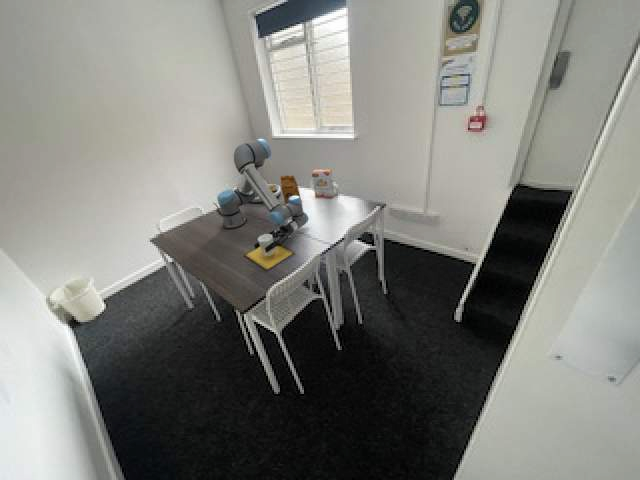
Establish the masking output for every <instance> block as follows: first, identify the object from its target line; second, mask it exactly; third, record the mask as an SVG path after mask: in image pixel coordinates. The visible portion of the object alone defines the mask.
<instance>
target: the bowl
mask: <svg viewBox="0 0 640 480" xmlns="http://www.w3.org/2000/svg"><path fill="white" fill-rule="evenodd" d="M267 186H268V187H269V188H270V190H271V191H272V193H273V194H274V195H275V197H276V198H277V197H278V196H279V195H281V193H282V189H281V185H278V184H267ZM250 202H251V203H263V202H262V200H261V199H260V197H259V196H258V195H256V198H255V199H253V200H252V201H250Z"/></svg>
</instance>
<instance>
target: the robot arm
mask: <svg viewBox="0 0 640 480" xmlns="http://www.w3.org/2000/svg"><path fill="white" fill-rule="evenodd" d="M271 155H272V150H271V147H270V145H269V143H268V141H266V140H265V139H263V138H258V139H254V140H251V141H247V142H245V143H241V144H239V145H238V146H236V147H235V150H234V152H233V162H234V163H233V164H234V166H235V168H236V170H237V172H238V173H239V174H240V175H242V178H241V181H240V182H239V183H238V184H237V186H236V188H235V189H226V190H223V191H221V192H220V193H219V194H218V195H217V197H216V198H217V202H218V205H219V206H218V205H217V203H215V202H213V205H215V206H216V209H217V211H218V212H219V214H220V215H222V216H223V226H224V228H225V229H232V230H233V229H237V228H240V227H242V226H243V225H245V224H246V222H247V219H246V216H244V214H243V212H241V209H240V207H241V206H244V205H246V204H248V203H250V202H251V201H252V200H253V199H255V198H256V195H258V196H259V197H260V199H261V200H262V202H261V203H263V205H264V206H265V207H266V208H267V210H268V211H269V215H268V217H269V220H270V222H271V223H272V224H273V225H275V226H277V225H280V224H281V223H283V224H281V225H280V226H279V228H278V229H276V230H275V229H274V228H273V229H271V230H270V231H268V232H266V233H265V234H271V235H272V237H273V239H275V240H274V242H273V243H271V244H270V245H268V246H267V247H266V248H265V251H266V253H267V252H269V251H270V250H271V249H273V248H275V247H276V246H279V247H280V246H282V247H283V245H284V244H285V243H286V242H287V241H289V240H290V239H291V237H292V236H291V235H292V234H294V233H296V231H298V230H299V229H300V228H302V227H303V226H305V225H306V224H307V223H308V222H309V216H308V213H306V212H305V211H304V207H303V201H302V198H301V196H300V197H299V196H291V197H289V199H288V204H284V205H282V204H281V202H280V201H279V200H278V198H277V197H275V195H274V194H273V193H272V191H271V190H270V188H269V187H268V186H267V185H268V184H267V182H266V181H265V180H264V178H263V177H262V176H261V174H260V173H259V171H260V168H261V167H263V166H264V164H265V162H266V160H267V159H269V158H271ZM219 208H220V209H219ZM220 210H221V211H220ZM286 220H287V221H286ZM285 221H286V222H285ZM253 246H254V250H255V249H257V248H259V247H260V244H259V242H258V241H257V242H255V243H254V244H253Z"/></svg>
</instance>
